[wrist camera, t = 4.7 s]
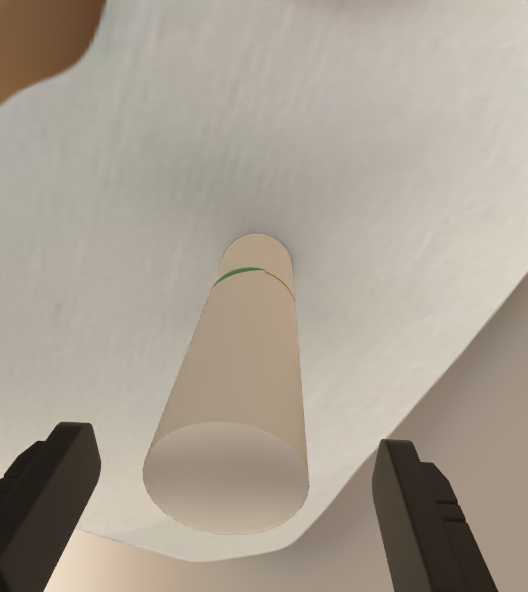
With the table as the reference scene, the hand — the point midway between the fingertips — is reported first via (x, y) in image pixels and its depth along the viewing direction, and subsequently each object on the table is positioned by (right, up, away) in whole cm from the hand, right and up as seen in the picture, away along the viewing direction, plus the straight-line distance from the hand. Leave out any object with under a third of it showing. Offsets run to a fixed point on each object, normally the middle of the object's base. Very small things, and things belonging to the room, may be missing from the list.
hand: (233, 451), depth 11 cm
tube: (0, +6, +13) cm, 14 cm away
